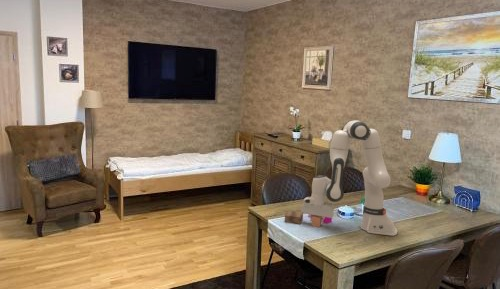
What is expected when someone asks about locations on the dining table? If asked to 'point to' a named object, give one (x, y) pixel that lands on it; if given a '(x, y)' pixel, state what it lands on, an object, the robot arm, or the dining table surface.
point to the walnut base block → (294, 217)
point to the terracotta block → (316, 220)
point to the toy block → (325, 219)
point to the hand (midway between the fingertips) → (316, 221)
